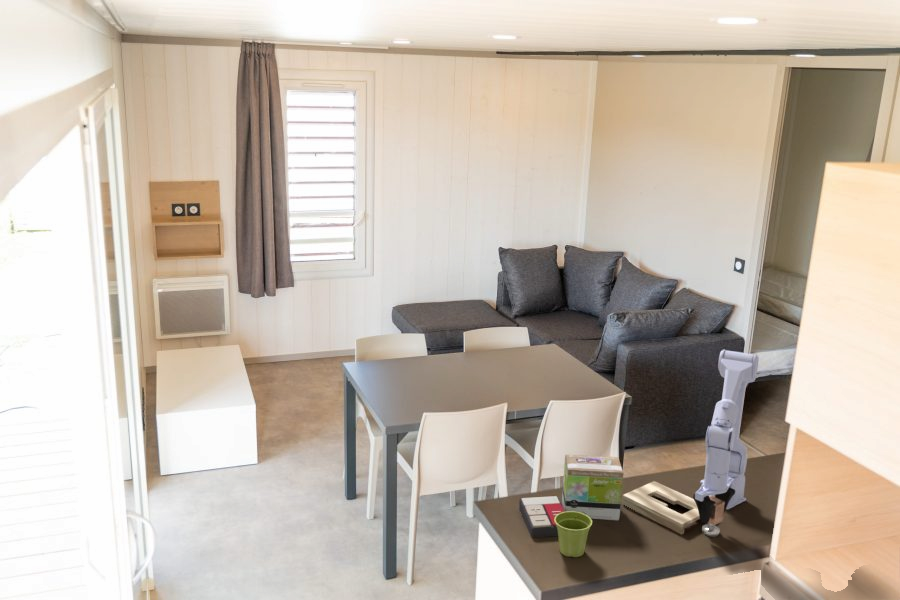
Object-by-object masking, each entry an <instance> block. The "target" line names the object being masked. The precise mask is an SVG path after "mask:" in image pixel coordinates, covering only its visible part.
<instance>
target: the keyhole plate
mask: <svg viewBox="0 0 900 600" xmlns="http://www.w3.org/2000/svg"><path fill="white" fill-rule="evenodd" d="M652 496H654V497H655V498H654V497H652ZM656 497H657V498H659V499H661V500H663V501H661V500H658V499H656ZM664 501H665V502H667V503H670V504H672V505H674V506H675V505H679V506H682V507H684V508H686V509H688V511H686V512H684V513H680V512H677V511H676V510H674V509H671V507H670V508H669V507H668V506H669V505H668V504H667V503H665V502H664ZM624 505H625V506H624ZM621 506H624V507H626V506H627V507H626V508H628V507H629V508H628V509H630V508H631V509H630V510H632V509H633V510H632V511H634V510H635V511H634V512H636V513H638V514H640V515H642V516H644V517H646V518H648V519H650V520H652V521H654V522H656V523H658V524H660V525H662V526H664V527H666V528H668V529H670V530H672V531H673V532H676V533H677V534H680V535H683V534H684V533H685V527H687V526H688V525H690V524H692V523H694V522H696V521H698V520H700V517H699V511H698V507H697V505H696V502H695V501H694V499H693V497H690V496H688V495H686V494H683V493H681V492H679V491H677V490H674V489H672V488H670V487H668V486H666V485H664V484H661V483H659V482H658V481H655V480H653V481H650V482H649V483H646V484H644V485H642V486H640V487H637V488H635V489H633V490H631V491H629V492H626V493H624V494H622V497H621Z"/></svg>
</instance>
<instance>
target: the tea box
mask: <svg viewBox="0 0 900 600" xmlns="http://www.w3.org/2000/svg"><path fill="white" fill-rule="evenodd" d="M563 466H564V467H563V481H562V491H561V492H562V495H561V504H562V506H563V508H564V510H565V512H566V511H575V512H580V513H583V514H585V515H587V516H589V517H590V518H591V520H593V519H594V520H606V521H607V520H608V521H617V522H618V521H620V516H621V508H622V507H621V506H622V497H623V482H624V471H623V468H622V464H621V462H620V459H619V457H617V456H601V455H600V456H599V455H583V454H582V455H581V454H580V455H579V454H565V456H564V465H563Z"/></svg>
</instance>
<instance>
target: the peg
mask: <svg viewBox="0 0 900 600" xmlns="http://www.w3.org/2000/svg"><path fill="white" fill-rule="evenodd" d="M709 498H710V500H712V501H715V502H716V503H715V504H714V506H713V508H712V511H711V514H710V519H709V522H708V523H705V524H704V525H702V527H701V533H702V534H703V535H705V536H707V537H711V538H716V536H717V537H719V536H718V535H720V527H718V526H717V524H719V523H721V522H723V520H724V515H725V513H724V505H725V502H724V501H722V500H720V499H718V498H715V497H713V496H710V497H709ZM723 514H724V515H723Z"/></svg>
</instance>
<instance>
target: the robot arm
mask: <svg viewBox="0 0 900 600" xmlns="http://www.w3.org/2000/svg"><path fill="white" fill-rule="evenodd" d="M759 359H760V357H759V356H758V354H757V353H746V352H741V351H734V350H733V351H732V350H727V349H725V348H724V349H722V350H721V351H720V352H719V356H718V364H717V368H718V372H719V374H720V376H721V377H722V378H724V380H723V381H724V382H723V386H722V387H723V389H722V396H721V400H719V401H717V402H716V403H715V406H714V411H713V416H712V420H711V422H710V423H711V424H710V425H708V426H707V430H706V434H705V453H706V457H705V468H704V469H705V470H704V478H703V479H701V480H700V484H701V486H700V487H699V489H698V490H696V491H695V493H694V494H693V497H692V499H694V501H695V502H696V505H697V507H698V511H699V517H700V519H699V521H700V522H702V523H705V524H708V522H709V519H710V514H711V511H712V508H713V506H714V504H715V503H716V502H715V501H712V500H710V498H709V497H710V496H713V497H715V498H718V499H720V500H722V501H724V502H725V505H724V514H723V516H725V513H726V511H727V510H730V509H732V508H735V506H737V505H740V504H742V503H743V502H746V500H747V498H746V497H744V496H745V495H744V494H745V486H746V476H745V473H746V469H747V464H748V463H747V462H748V447H747V446H746V445H745V444H744V443H743V442H742V441H741V440H740V438H739V436H740V430H741V429H740V428H741V423H742V417H743V416H742V415H743V408H744V402H745V401H744V400H745V393H746V388H747V387H748V385H749V384H750V383H753V382H756V381H755V380H756V379H757V374H758V368H759Z"/></svg>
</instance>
